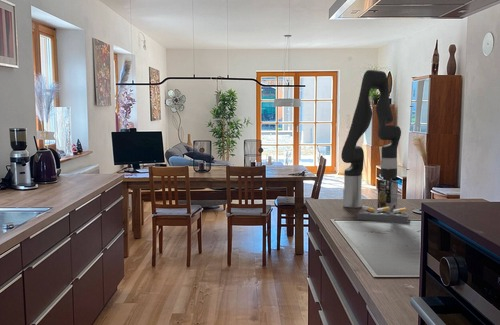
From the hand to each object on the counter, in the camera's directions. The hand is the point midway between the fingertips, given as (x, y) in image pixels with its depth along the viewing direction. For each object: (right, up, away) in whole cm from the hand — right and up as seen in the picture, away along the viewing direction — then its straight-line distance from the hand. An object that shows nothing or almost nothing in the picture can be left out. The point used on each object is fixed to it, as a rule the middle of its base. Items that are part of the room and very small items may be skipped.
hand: (388, 203), depth 229 cm
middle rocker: (-2, -4, +1) cm, 4 cm away
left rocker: (-9, -3, +4) cm, 10 cm away
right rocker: (+5, -4, -2) cm, 6 cm away
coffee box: (+5, -6, +19) cm, 20 cm away
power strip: (-3, -8, -1) cm, 8 cm away
